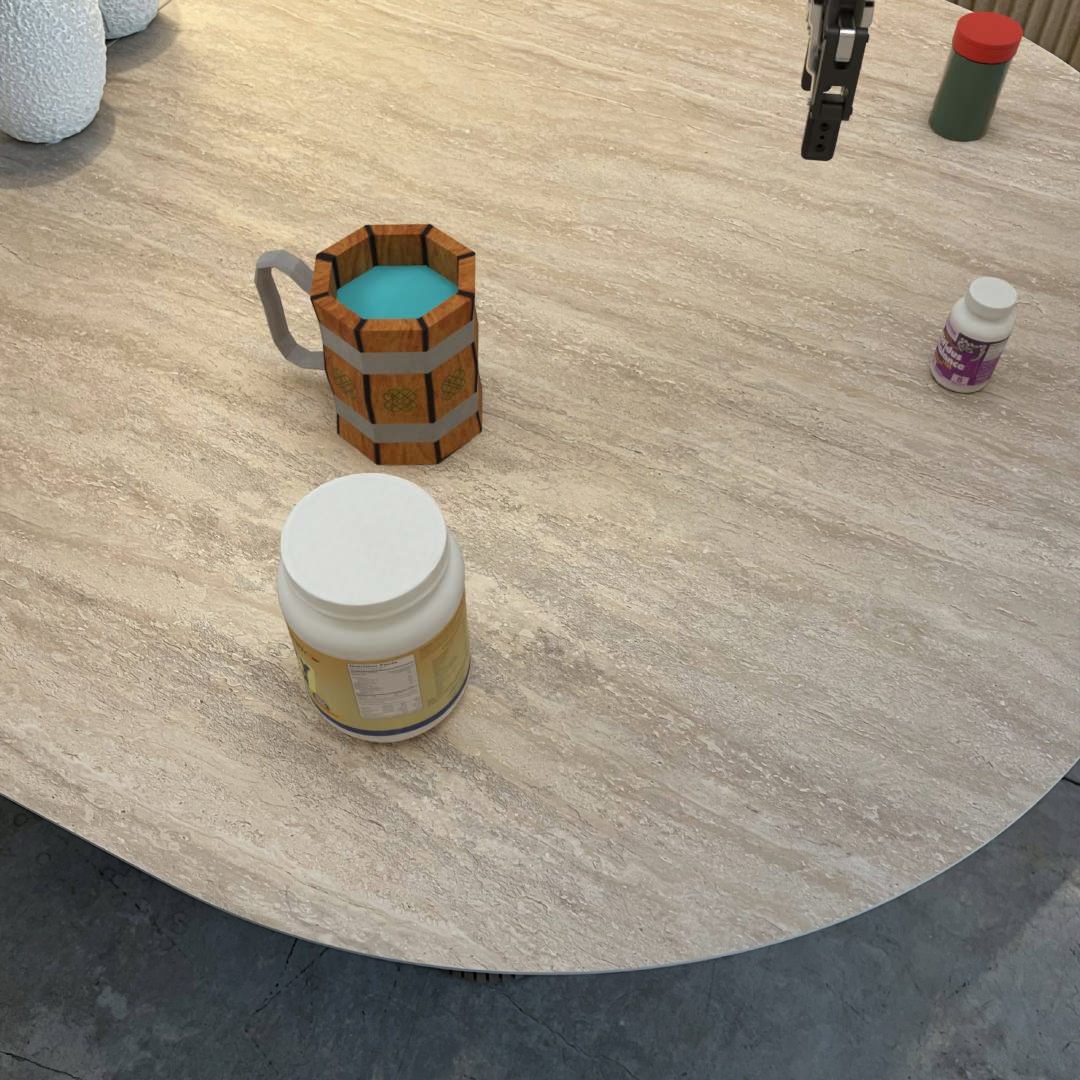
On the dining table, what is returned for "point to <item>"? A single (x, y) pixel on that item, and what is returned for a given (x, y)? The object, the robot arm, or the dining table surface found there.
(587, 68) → the dining table surface
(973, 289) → the pill bottle
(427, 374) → the mug
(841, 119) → the robot arm
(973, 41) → the lid
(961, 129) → the jar
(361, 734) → the supplement tub
